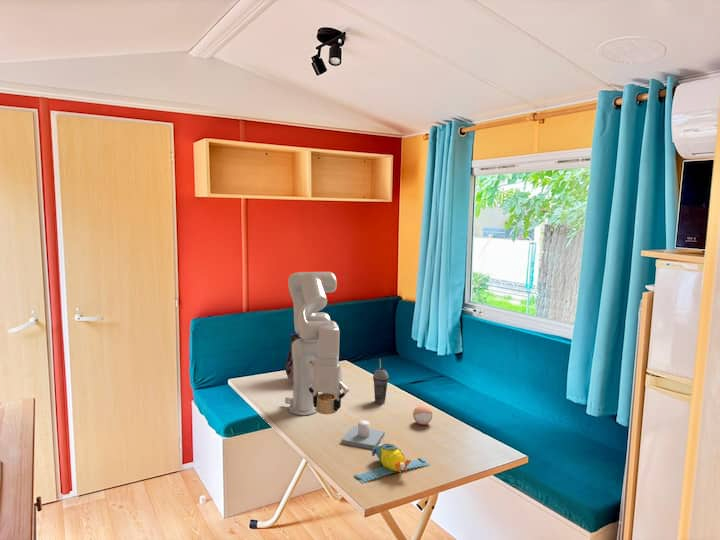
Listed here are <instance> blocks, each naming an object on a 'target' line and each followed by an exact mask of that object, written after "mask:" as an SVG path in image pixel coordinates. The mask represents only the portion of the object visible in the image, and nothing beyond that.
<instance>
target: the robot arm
mask: <svg viewBox="0 0 720 540" xmlns="http://www.w3.org/2000/svg"><path fill="white" fill-rule="evenodd" d="M337 281H338V280H337V277H336V275H335V274H334V273H333V272H331V271H298V272H294V273H292V274H290V275H289V277H288V280H287V284H288V290H289V294H290V296H291V299H292V302H293V322H294V323H293V324H294V331H295V334H299V335H301V338H302V339H297V340H295V341H294V342H293V344H292V356H293V382H292V397H285V399H284V401H285V402H284V404H289V405H290V406H288V411H289V412H290V413H291V414H292V415H297V416H309V415H313V414H316V413H318V412H317V411H316V396H317V395H318V394H319V393H328V394H334V395H335V397H336V400H335V411H336V412H338V410H339V409H340V408H341V405H342V403H341V402H342V399H343V398H344V397H345V396H346V395H347V394H348V393H349V392H350V389H349V388H348V387H347V385H345V383H344V382H343V374H342V368H341V364H340V363H339V361H340V360H339V359H340V339H341V338H340V336H341V335H340V334H341V332H340V328H339V325H338V324H337V322H336V321H334V320H331V317H330V315H329V314H328V313H327V312H323V311H322V310H323V309H324V308H326V306H327V304H328V298H327V295H326V293H334V292H335V291H336V290H337V288H338V287H337V286H338V282H337ZM320 311H322V312H320ZM312 360H317V363H315V367H314V366H313V365H312V364H311V363H310V361H312ZM341 391H342V392H341Z"/></svg>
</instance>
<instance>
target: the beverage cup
mask: <svg viewBox="0 0 720 540" xmlns="http://www.w3.org/2000/svg"><path fill="white" fill-rule="evenodd" d="M372 379H373V389H374V392H373V393H374V403H375V404H377V405H384V404H385V403H386V398H387V397H386V396H387V389H388V384H389V379H390V377H389V374H388V372H387V371H386V370H385V369H383V368H382V361H381V358H379V368H378V369H376V370H375V371H374V373H373V375H372ZM383 403H384V404H383Z"/></svg>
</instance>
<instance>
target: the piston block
mask: <svg viewBox="0 0 720 540" xmlns="http://www.w3.org/2000/svg"><path fill="white" fill-rule="evenodd" d="M370 423H371V422H370V421H368V420H364V419H363V420H362V419H361V420H359V421H358V423H357V426H355V425H353V426H352V427H350V429H349V430H348V431H347V433H345V435H344V436H343V437H342V438H341V444H343V445H347V446H348V445H349V446H353V447H358V446H359V448H365V449H370V450H373V449H374V448H375V447H376V446H377V445H378V444H379V443H381V441H382V440H381V439H383V438H384V437H383V436H385V431H384V430H379V429H373V428H370Z"/></svg>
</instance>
